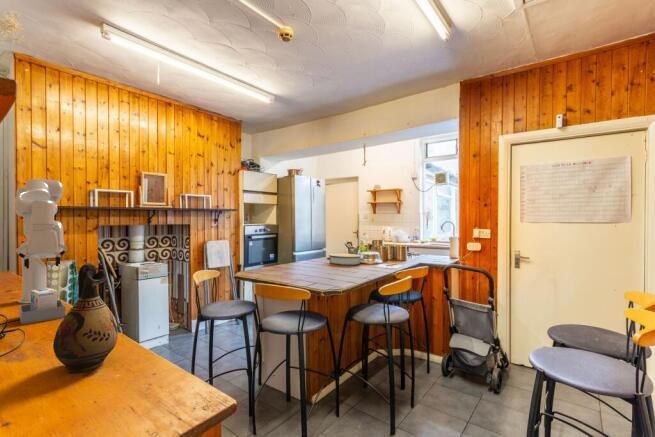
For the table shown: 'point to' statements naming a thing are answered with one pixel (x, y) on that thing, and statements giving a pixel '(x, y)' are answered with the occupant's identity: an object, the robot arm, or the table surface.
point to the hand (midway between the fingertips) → (42, 267)
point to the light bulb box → (43, 299)
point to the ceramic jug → (86, 326)
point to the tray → (41, 313)
